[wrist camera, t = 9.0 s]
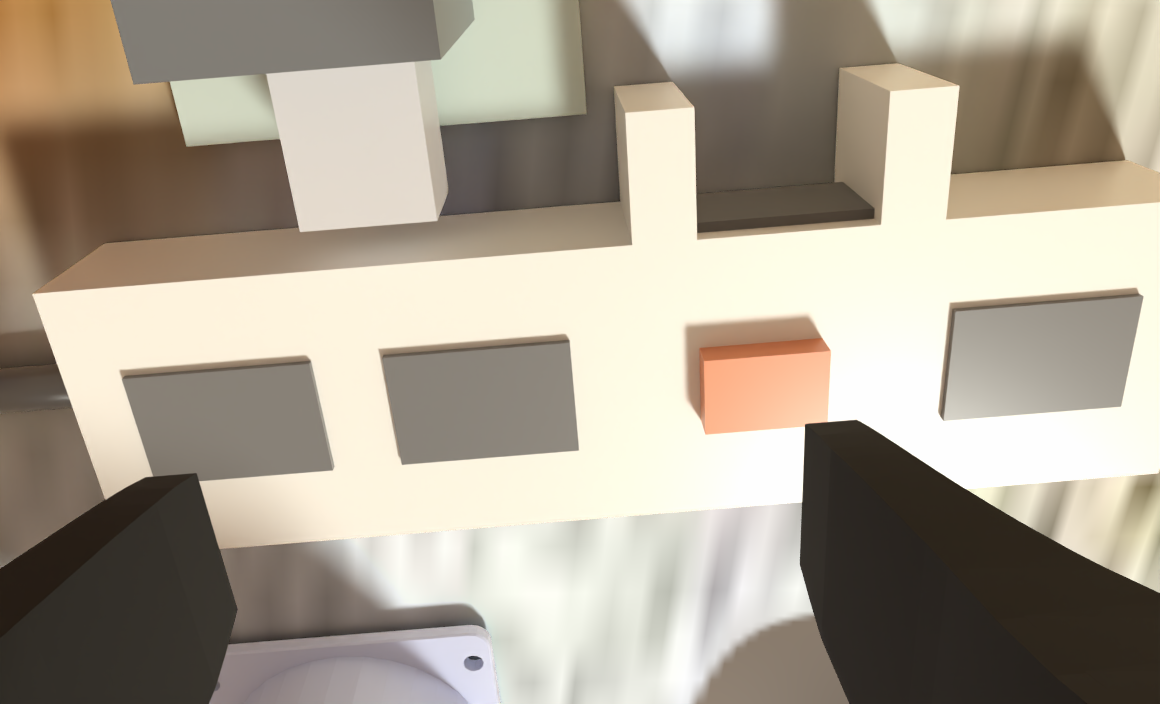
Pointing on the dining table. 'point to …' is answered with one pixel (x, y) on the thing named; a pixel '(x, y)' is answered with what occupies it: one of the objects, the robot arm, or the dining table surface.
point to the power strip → (628, 338)
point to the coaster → (461, 78)
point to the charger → (322, 91)
